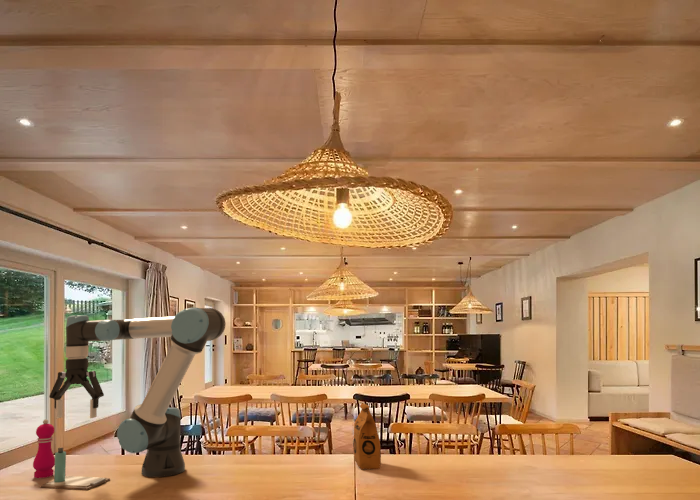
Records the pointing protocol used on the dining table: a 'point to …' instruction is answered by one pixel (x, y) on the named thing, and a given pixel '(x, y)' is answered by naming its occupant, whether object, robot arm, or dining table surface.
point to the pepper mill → (44, 451)
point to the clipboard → (76, 483)
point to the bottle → (60, 465)
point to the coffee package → (366, 440)
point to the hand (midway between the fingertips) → (76, 417)
